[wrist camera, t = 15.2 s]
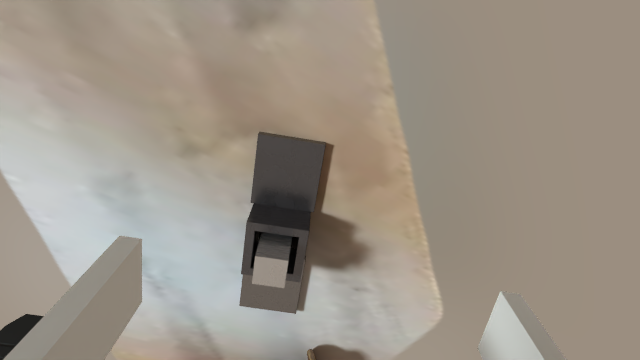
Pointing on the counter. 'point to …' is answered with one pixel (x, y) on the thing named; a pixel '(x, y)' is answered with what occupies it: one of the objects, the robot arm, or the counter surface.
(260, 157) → the square socket bracket
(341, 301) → the counter surface
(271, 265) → the beige rectangular block
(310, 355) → the sword hilt
